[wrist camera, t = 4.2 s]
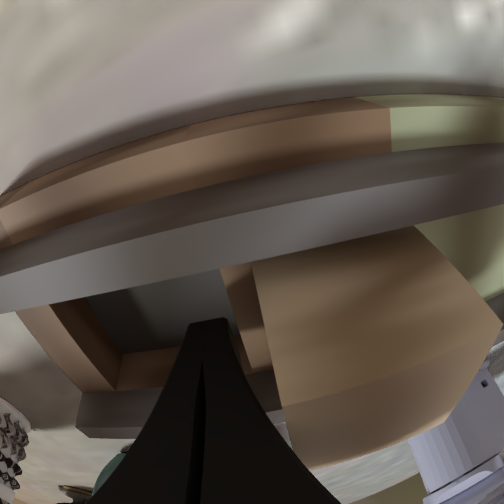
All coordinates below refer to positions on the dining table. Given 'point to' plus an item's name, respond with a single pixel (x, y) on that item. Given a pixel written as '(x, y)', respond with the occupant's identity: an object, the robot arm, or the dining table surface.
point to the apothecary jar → (75, 494)
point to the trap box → (237, 231)
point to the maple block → (369, 341)
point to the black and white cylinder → (11, 448)
